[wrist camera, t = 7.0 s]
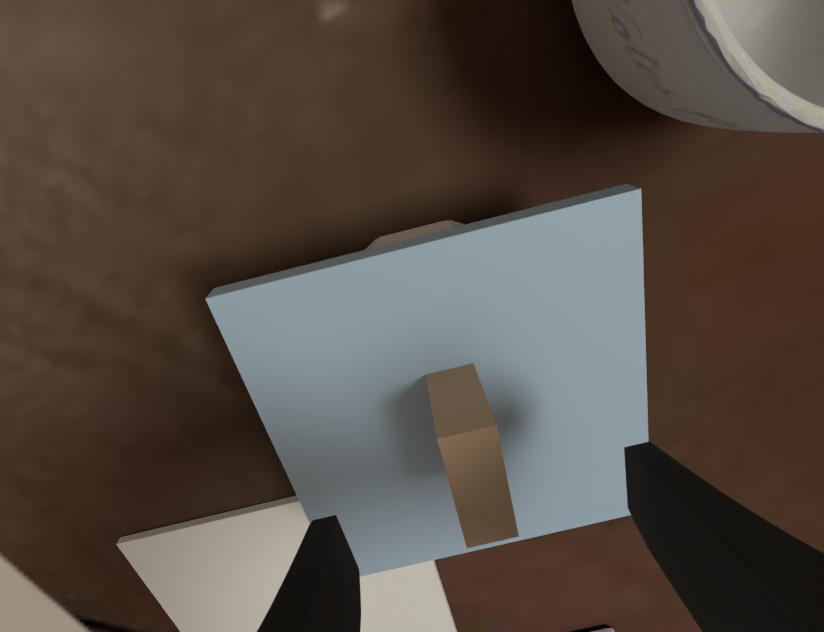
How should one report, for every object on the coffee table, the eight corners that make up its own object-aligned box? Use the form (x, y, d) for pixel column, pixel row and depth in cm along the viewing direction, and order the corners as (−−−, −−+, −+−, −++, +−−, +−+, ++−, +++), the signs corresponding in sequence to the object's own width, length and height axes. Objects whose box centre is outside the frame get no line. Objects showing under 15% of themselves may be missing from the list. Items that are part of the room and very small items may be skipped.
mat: (461, 645, 28) (462, 652, 28) (234, 695, 28) (233, 703, 28) (404, 469, 22) (405, 476, 22) (120, 537, 23) (116, 544, 22)
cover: (639, 494, 18) (701, 586, 15) (338, 563, 19) (329, 668, 15) (626, 183, 13) (715, 213, 10) (214, 288, 14) (159, 351, 10)
